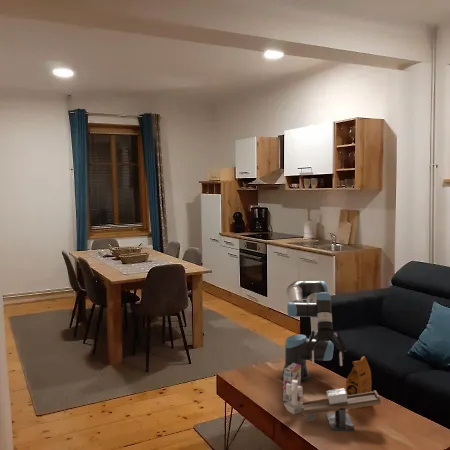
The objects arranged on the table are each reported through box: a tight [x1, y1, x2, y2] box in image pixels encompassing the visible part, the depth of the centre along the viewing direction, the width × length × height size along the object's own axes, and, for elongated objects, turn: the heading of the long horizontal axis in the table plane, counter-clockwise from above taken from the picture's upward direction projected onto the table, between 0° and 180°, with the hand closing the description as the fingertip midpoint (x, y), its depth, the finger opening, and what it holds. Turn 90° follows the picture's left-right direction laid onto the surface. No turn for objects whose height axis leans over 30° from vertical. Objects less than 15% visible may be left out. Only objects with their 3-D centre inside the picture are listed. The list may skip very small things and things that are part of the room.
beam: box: [300, 390, 382, 422], centre depth 210 cm, size 9×34×6 cm, turn 86°
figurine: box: [283, 380, 304, 415], centre depth 222 cm, size 7×9×15 cm
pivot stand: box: [325, 408, 356, 432], centre depth 211 cm, size 14×10×9 cm
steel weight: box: [325, 387, 348, 406], centre depth 210 cm, size 6×8×5 cm
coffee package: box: [345, 355, 373, 409], centre depth 230 cm, size 10×12×22 cm
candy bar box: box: [282, 363, 302, 403], centre depth 235 cm, size 11×5×16 cm, turn 147°
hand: (327, 365), depth 230 cm, fingers open, 13 cm apart
